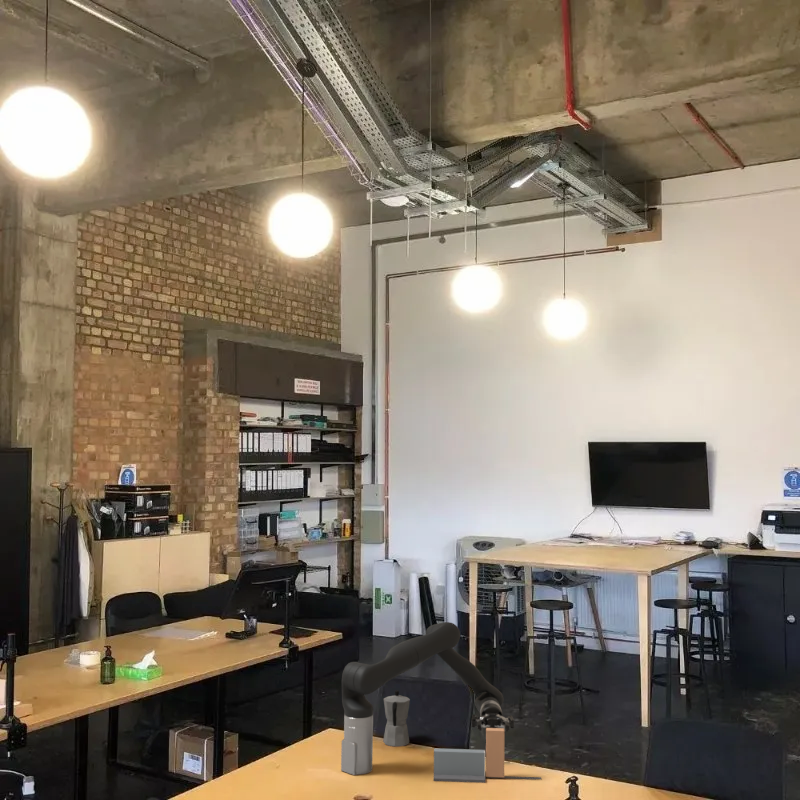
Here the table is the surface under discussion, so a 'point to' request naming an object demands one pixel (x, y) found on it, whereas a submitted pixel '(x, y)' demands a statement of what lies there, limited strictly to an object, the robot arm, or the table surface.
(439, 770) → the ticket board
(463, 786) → the table surface
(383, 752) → the table surface
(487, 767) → the stub
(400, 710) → the coffeepot
